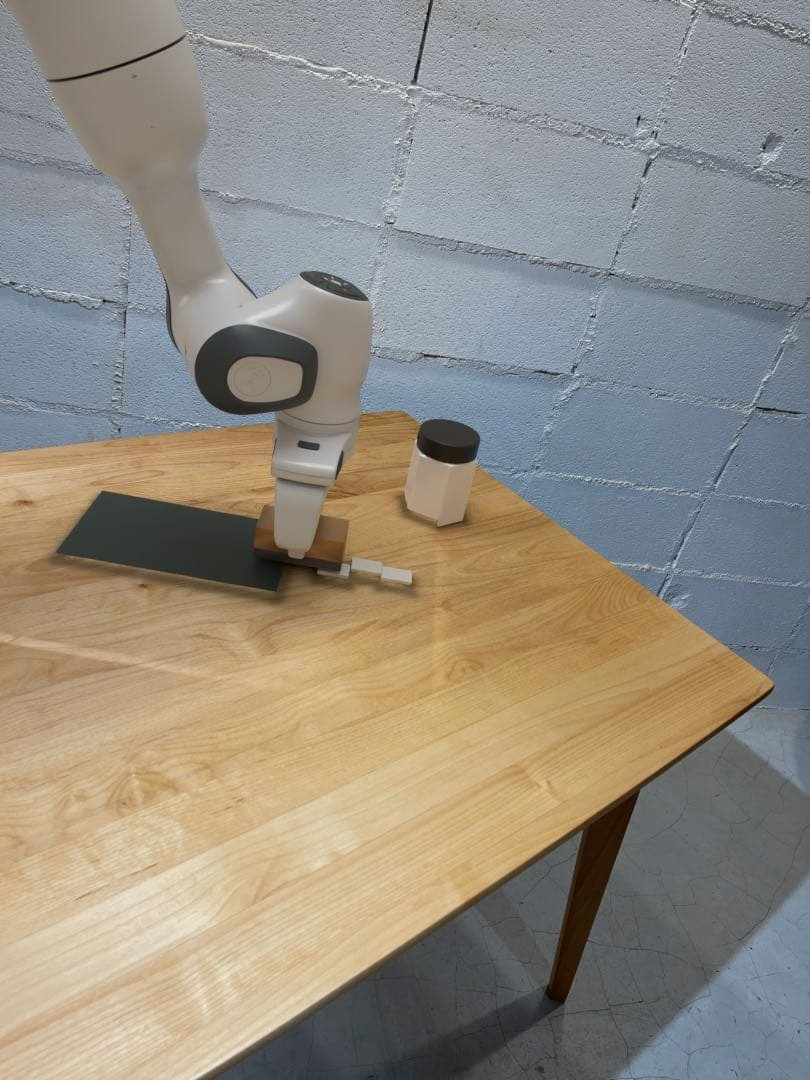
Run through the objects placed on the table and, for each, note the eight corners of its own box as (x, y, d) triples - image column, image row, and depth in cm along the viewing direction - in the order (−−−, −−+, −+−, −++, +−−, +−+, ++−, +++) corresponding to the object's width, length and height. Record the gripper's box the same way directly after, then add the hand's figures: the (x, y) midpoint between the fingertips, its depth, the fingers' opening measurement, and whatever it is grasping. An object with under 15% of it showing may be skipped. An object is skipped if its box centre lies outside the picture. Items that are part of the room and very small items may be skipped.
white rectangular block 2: (348, 579, 95) (350, 568, 94) (350, 567, 97) (352, 556, 96) (379, 584, 95) (381, 573, 95) (380, 572, 97) (382, 561, 97)
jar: (438, 490, 117) (456, 414, 111) (474, 519, 112) (495, 441, 106) (389, 501, 112) (404, 422, 106) (424, 531, 107) (443, 450, 101)
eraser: (252, 556, 92) (255, 526, 90) (261, 533, 96) (264, 504, 94) (340, 571, 92) (345, 542, 90) (345, 548, 97) (349, 519, 95)
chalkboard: (55, 561, 88) (54, 552, 87) (102, 498, 100) (102, 490, 99) (275, 600, 89) (276, 591, 89) (296, 533, 101) (297, 525, 100)
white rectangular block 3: (411, 582, 94) (409, 593, 95) (412, 570, 96) (409, 581, 97) (381, 577, 94) (378, 588, 95) (382, 565, 96) (379, 576, 97)
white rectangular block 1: (315, 581, 93) (317, 570, 93) (318, 570, 96) (320, 559, 95) (346, 587, 94) (348, 576, 93) (348, 575, 96) (350, 564, 95)
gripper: (301, 389, 95) (288, 491, 102) (267, 469, 77) (256, 585, 85) (354, 399, 95) (338, 500, 102) (333, 481, 78) (316, 596, 85)
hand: (301, 540), depth 93 cm, fingers closed on eraser, 5 cm apart
